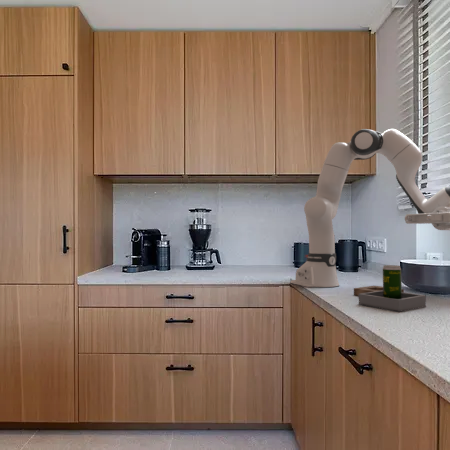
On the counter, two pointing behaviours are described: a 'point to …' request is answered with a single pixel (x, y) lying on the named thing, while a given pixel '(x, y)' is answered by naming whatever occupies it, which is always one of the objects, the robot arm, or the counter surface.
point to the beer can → (392, 282)
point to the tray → (392, 301)
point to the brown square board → (368, 289)
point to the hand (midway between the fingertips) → (417, 217)
